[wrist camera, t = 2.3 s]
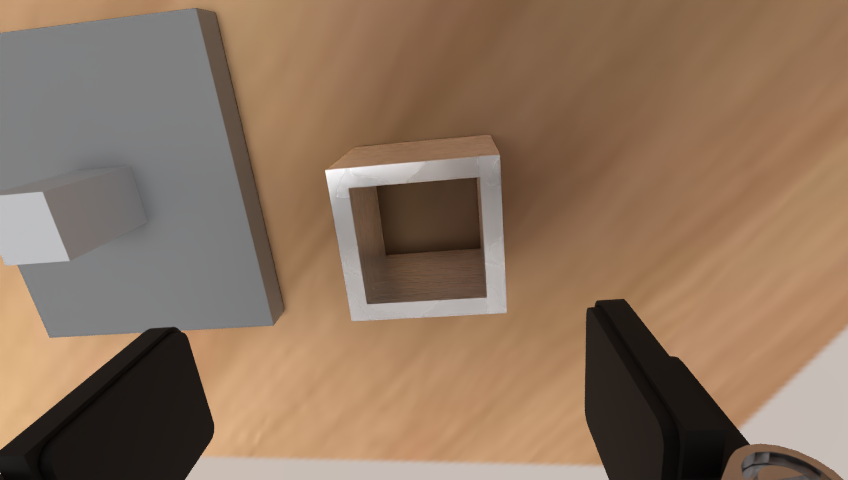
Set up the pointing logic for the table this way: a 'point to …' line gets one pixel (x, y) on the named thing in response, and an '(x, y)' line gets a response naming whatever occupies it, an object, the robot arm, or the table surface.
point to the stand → (130, 178)
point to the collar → (427, 271)
